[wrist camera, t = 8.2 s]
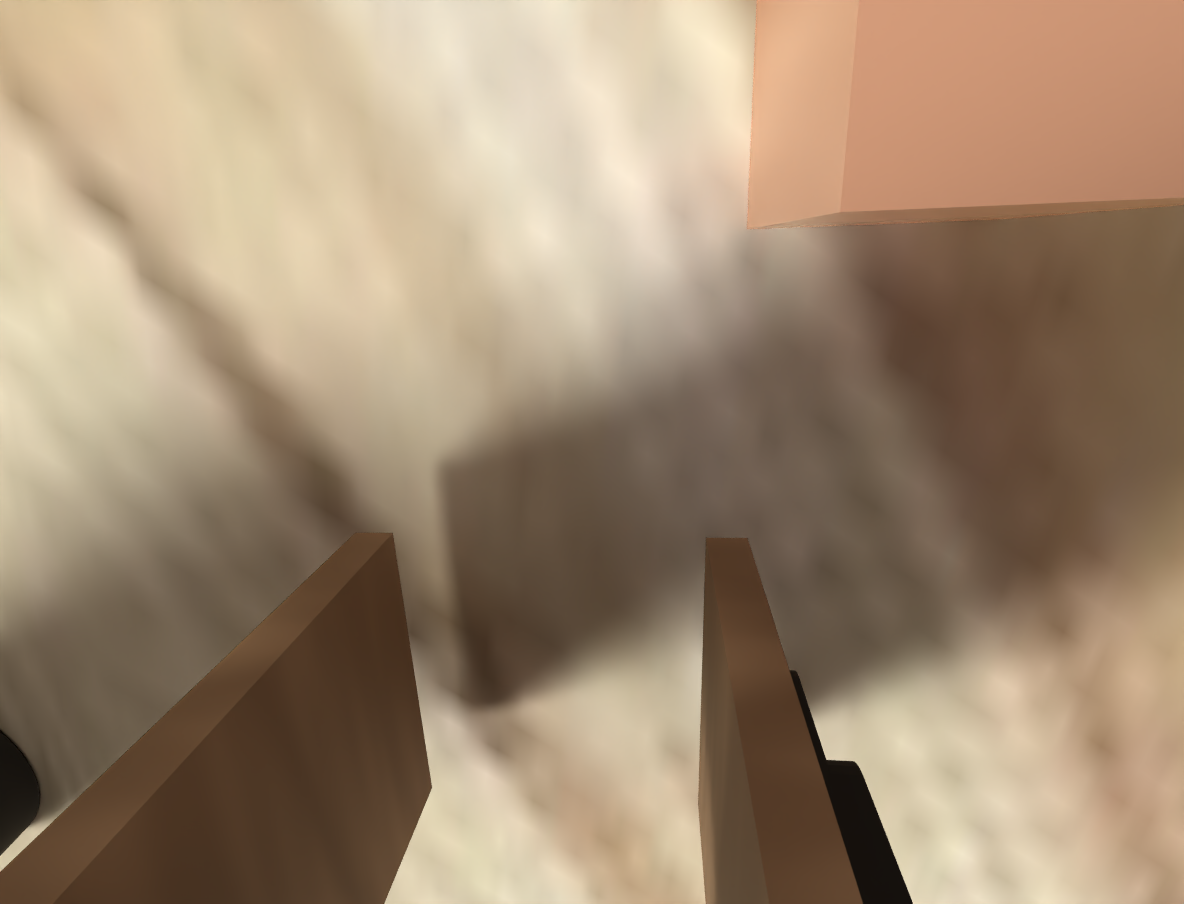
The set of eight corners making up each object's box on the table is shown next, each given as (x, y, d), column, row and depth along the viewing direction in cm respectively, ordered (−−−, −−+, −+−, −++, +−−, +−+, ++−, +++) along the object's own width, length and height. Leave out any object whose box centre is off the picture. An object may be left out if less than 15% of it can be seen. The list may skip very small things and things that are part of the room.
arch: (747, 537, 10) (976, 1269, 3) (733, 805, 12) (851, 1655, 5) (356, 532, 11) (-246, 1106, 4) (400, 786, 13) (64, 1495, 6)
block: (1051, -86, 8) (1673, -611, 3) (999, 219, 10) (1389, 188, 5) (758, -60, 9) (900, -487, 4) (746, 229, 10) (839, 212, 5)
